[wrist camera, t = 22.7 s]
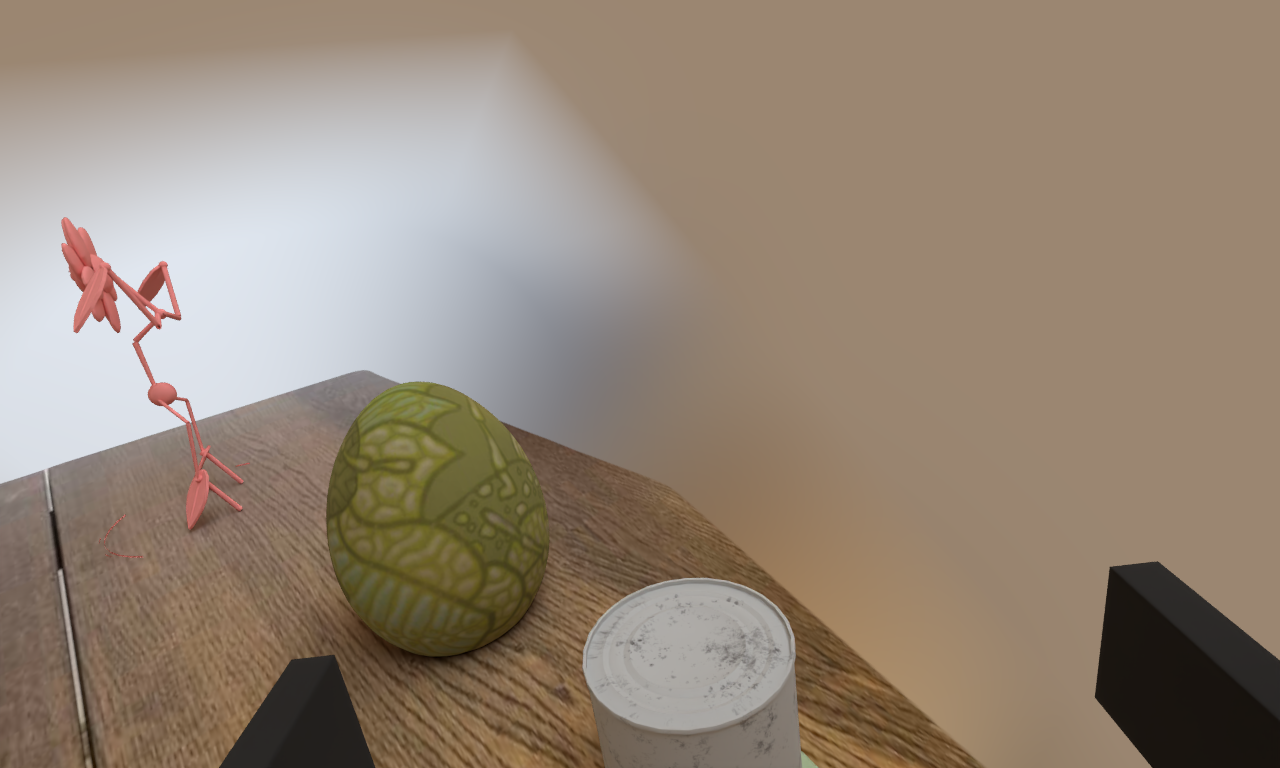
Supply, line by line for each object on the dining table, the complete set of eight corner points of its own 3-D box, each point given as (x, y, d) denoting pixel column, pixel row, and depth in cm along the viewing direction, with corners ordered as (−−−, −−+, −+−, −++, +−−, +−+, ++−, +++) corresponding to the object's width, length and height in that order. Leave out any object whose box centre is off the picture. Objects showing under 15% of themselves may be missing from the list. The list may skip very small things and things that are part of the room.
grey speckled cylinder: (702, 993, 28) (667, 776, 24) (586, 827, 36) (544, 641, 32) (851, 846, 33) (842, 644, 29) (721, 727, 41) (700, 554, 37)
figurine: (250, 459, 95) (157, 205, 83) (250, 536, 73) (123, 207, 61) (121, 497, 88) (0, 227, 77) (78, 594, 67) (-100, 239, 55)
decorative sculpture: (316, 668, 52) (226, 431, 45) (441, 546, 66) (387, 352, 59) (500, 702, 46) (428, 436, 39) (593, 560, 60) (553, 347, 53)
